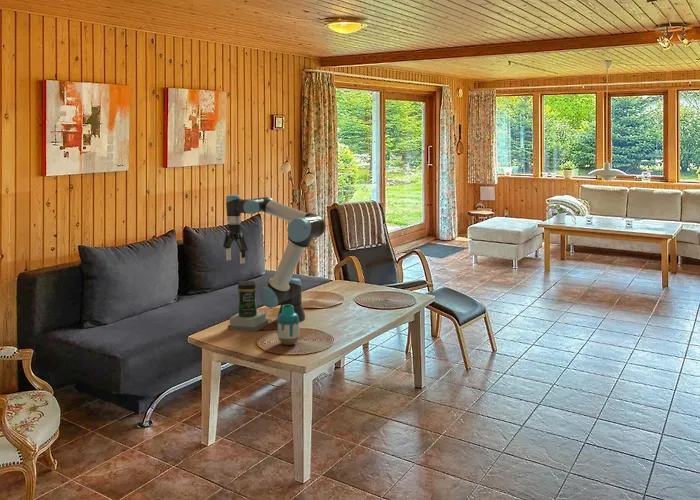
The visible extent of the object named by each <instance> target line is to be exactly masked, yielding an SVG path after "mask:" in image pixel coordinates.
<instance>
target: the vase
mask: <svg viewBox="0 0 700 500" xmlns="http://www.w3.org/2000/svg"><path fill="white" fill-rule="evenodd" d="M276 323H277V325H276V329H277V331H276V332H277V338H278V341H279V342H280V343H281V344H282V345H286V346H290V345H294V344H296V343H297V342H298V341H299V338H300V321H299V317H298V314H297V313H295V312H294V307H293V305H290V304H287V305H283V306H282V313H280V314H279V315H278V314H277V322H276Z"/></svg>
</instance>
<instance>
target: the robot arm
mask: <svg viewBox="0 0 700 500" xmlns="http://www.w3.org/2000/svg"><path fill="white" fill-rule="evenodd" d="M225 206H226V207H225V209H226V223H227V224H226V228H227V230H226V231H225V237H224V241H223V246H222V247H223V248H224V249H225V256H226V257H225V258H226V259H225V260H226V261H232V249H231V246H232V244H233V242H236V244H237V246H238V248H239V264H240V265H243V264H246V252H247V251H248V246H247V243H246V240H245V235H244V233H243V232H240V231H241V230H242V215H241V214H248V215H255V214H257V213H259V212H260V213H262V212H263V213H264V214H268V215H271V216H273V217H276V218H279V219H280V220H281V219H282V220H284V221H286V222H289V223H288V226H287V229H286V230H287V236H288V237H287V239H288V244H287V246H286V247H285V250H284V253H283V255H282V258H281V259H280V262H279V264H278V266H277V268H276V271H275V273H274V275H273V277H270V278H269V279H268V281H267V284H266V286H262V288H260V290H259V298H260V301H261V303H262V304H263V305H264V306H265V307H266V308H270V309H271V308H275V307H279V309H278V313H277V316H278V315H279V314H280V313H282V306H283V305H287V304H290V305H293V307H294V312H295V313H297V314H298V317H299V322H303V321H304V320H305V319H306V314H305V311H304V308H303V301H302V299H303V298H302V286H303V285H302V280H301V279H300V278H297V277H293V275H294V273H295V271H296V268H297V266H298V265H299V261H300V259H301V257H302V255H303V253H304V251H305V249H306V248H309V246H310V244H311V243H312V240H313V239H316V238H319V237H321V236H323V234H324V233H325V232H326V228H327V224H326V221H325V219H324V218H323V216H321V215H319V214H316V213H313V212H305V211H302V210H300V209H296V208H294V207H291V206H287V205H285V204H283V203H280V202H277V201H274V199H273V198H271V197H269V196H263V197H257V198H248V199H244V198H241V195H239V194H228V195H226V198H225Z"/></svg>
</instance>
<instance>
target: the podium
mask: <svg viewBox="0 0 700 500" xmlns="http://www.w3.org/2000/svg"><path fill="white" fill-rule="evenodd" d="M266 318H267V316H266V312H258V311H257V314H256V315H255V316H250V317H241V316H239V312H238V313H236V314H235V315H233V316H230V317H229V324H228V325H227V330H228V331H229V330H230V331H241V332H251V333H252V332H253V333H255V332H258V331H259V330H261V329H262V328H264V327H265V326H267V325H268V324H269V319H266ZM267 323H268V324H267ZM266 324H267V325H266ZM263 326H264V327H263Z"/></svg>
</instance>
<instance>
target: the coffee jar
mask: <svg viewBox="0 0 700 500" xmlns="http://www.w3.org/2000/svg"><path fill="white" fill-rule="evenodd" d="M256 291H257V285H256V282H255V280H242V281H241V280H240V281H238V285H237V292H238V293H239V295H238V297H239V300H238V301H239V302H238V313H239V316H241V317H250V316H255V315H256V314H257V312H258V309H257V303H256Z"/></svg>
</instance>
